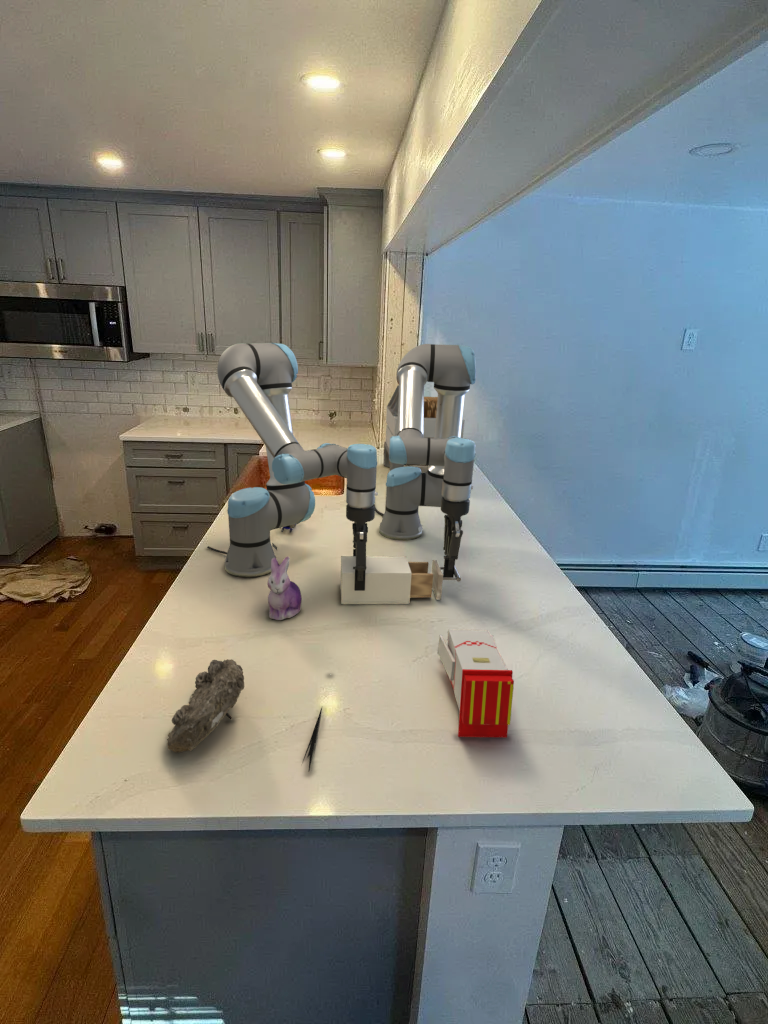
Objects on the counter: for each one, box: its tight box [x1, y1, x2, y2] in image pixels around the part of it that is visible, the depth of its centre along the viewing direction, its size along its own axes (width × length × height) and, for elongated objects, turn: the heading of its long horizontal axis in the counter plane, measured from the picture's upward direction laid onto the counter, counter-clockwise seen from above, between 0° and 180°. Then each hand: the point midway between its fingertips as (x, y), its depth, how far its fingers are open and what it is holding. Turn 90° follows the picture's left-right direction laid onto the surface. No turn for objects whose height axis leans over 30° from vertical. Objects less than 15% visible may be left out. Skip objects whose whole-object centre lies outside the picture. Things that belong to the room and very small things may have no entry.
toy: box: [437, 628, 515, 738], centre depth 117 cm, size 12×13×30 cm
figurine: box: [267, 556, 302, 621], centre depth 143 cm, size 9×10×15 cm
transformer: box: [383, 384, 465, 472], centre depth 268 cm, size 34×33×41 cm
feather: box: [301, 673, 332, 771], centre depth 108 cm, size 2×28×2 cm
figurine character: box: [280, 524, 297, 533], centre depth 200 cm, size 7×8×15 cm
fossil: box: [166, 658, 245, 754], centre depth 106 cm, size 22×10×15 cm
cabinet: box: [340, 555, 412, 605], centre depth 155 cm, size 18×11×9 cm, turn 95°
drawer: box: [408, 559, 462, 601], centre depth 157 cm, size 23×10×7 cm, turn 95°
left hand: (358, 580), depth 155 cm, fingers closed on cabinet, 11 cm apart
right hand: (448, 578), depth 157 cm, fingers closed
